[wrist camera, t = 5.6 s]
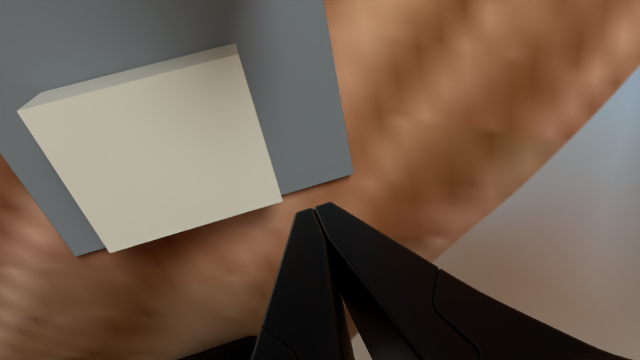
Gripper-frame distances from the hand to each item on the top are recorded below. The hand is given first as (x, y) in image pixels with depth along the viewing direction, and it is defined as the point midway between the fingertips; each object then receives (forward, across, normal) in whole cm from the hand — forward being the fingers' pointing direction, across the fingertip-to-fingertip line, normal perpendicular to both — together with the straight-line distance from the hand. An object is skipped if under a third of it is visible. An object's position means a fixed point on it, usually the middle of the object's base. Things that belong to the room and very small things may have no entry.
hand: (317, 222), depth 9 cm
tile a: (+7, +1, 0) cm, 7 cm away
